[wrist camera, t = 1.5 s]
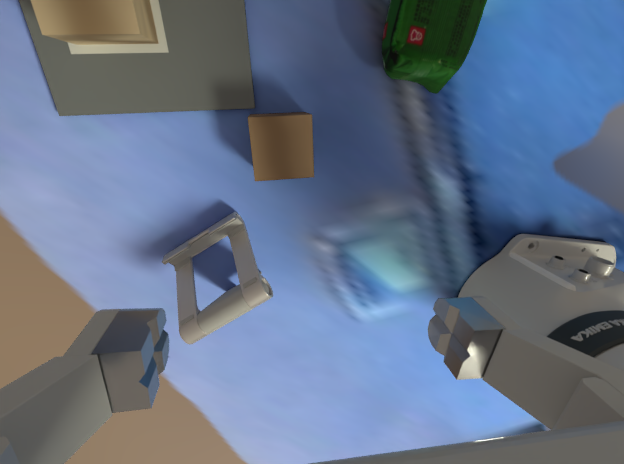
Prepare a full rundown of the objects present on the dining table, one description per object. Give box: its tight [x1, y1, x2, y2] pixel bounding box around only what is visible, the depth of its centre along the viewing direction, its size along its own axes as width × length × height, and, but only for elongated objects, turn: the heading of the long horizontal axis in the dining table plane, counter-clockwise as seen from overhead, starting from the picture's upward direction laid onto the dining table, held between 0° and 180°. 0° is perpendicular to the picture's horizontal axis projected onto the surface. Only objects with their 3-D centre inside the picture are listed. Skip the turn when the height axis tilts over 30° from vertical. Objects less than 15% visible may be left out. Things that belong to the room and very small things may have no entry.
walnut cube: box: [248, 112, 314, 181], centre depth 27 cm, size 5×5×5 cm
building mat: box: [19, 0, 255, 116], centre depth 23 cm, size 16×14×1 cm
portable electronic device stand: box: [162, 212, 273, 344], centre depth 29 cm, size 9×8×8 cm
